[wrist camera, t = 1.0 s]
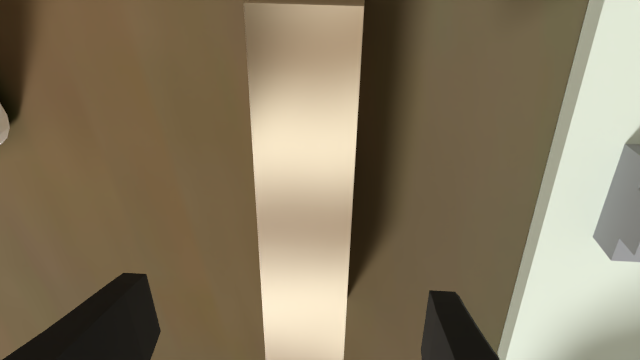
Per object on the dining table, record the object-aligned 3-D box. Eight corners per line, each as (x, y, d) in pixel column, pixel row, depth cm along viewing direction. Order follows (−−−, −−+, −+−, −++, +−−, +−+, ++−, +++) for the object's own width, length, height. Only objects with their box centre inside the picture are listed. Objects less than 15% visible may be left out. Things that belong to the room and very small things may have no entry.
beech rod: (347, 296, 22) (341, 384, 17) (287, 291, 22) (266, 378, 18) (365, -12, 15) (364, 6, 11) (279, -14, 15) (243, 3, 11)
